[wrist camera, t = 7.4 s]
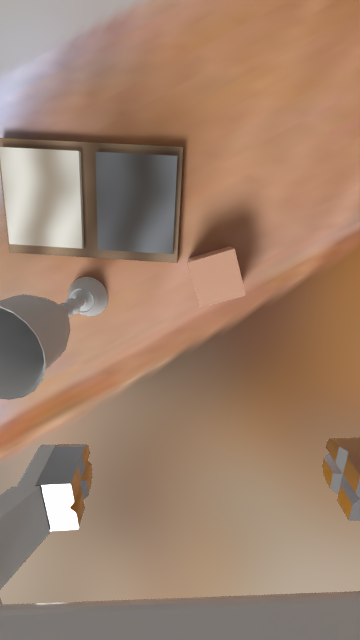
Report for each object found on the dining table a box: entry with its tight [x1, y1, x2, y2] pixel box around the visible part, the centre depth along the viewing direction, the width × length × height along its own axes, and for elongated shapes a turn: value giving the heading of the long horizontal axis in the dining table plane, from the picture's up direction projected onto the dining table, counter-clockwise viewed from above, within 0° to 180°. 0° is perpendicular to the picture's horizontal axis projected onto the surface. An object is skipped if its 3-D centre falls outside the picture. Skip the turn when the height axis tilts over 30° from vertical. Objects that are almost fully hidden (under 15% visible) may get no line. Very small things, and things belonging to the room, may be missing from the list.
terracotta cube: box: [187, 246, 246, 308], centre depth 33 cm, size 5×5×5 cm
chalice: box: [0, 277, 108, 400], centre depth 29 cm, size 7×7×18 cm
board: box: [0, 138, 183, 263], centre depth 33 cm, size 20×12×2 cm, turn 87°
